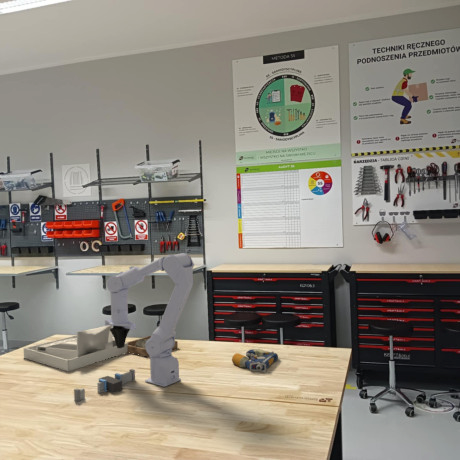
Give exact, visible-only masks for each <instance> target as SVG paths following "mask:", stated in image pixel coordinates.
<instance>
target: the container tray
mask: <svg viewBox="0 0 460 460" xmlns="http://www.w3.org/2000/svg"><path fill="white" fill-rule="evenodd" d="M71 338H77V334H76V335H71V336H67V337H64V338H59V339H56V340H51V341H46V342H43V343H40V344H34V345H31V346H26V347H23V358H24V359H26V360H30V361H33V362H36V363H40V364H43V365H45V364H46V366H49V367H53V368H56V369H58V368H59V370H62V371H66V372H71V371H74V370H77V369H80V368H81V369H82V368H84V367H86V366H90V365H93V364H96V363H95V362H97V363H100V362H103V361H106V360H109V359H112V358H111V357H113V358H115V357H114V356H116V357H118V356H117V355H119V356H121V355H120V354H122V355H124V354H123V353H125V354H128V353H127V352H128V343H127V342H125V345H124V347H123V348H117V346H114V347H111V348H108V349H104V350H101V351H97V352H94V353H90V354H87V355H83V356H80V357H76V358H73V359H69V360H67V359H63V358H59V357H56V356H52V355H49V354H45V353H42V352H38V351H36V347H37V346H40V345H44V344H49V343H53V342H57V341H62V340H66V339H71ZM108 358H109V359H108ZM105 359H106V360H105ZM102 360H103V361H102ZM99 361H100V362H99Z"/></svg>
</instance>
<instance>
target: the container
mask: <svg viewBox="0 0 460 460" xmlns="http://www.w3.org/2000/svg"><path fill="white" fill-rule="evenodd" d="M111 328H113V326H110V325H103V326H100V327H96V328H95V327H94V328H91V329H86V330H82V331H76V335H77V338H71V339H66V340H62V341H57V342H53V343H49V344H44V345H40V346H37V347H36V351H38V352H42V353H45V354H49V355H52V356H56V357H59V358H63V359H67V360H69V359H73V358H76V357H80V356H83V355H87V354H90V353H94V352H97V351H101V350H104V349H108V348H111V347H114V346H117V345H116V342H115V339H114V336H113V334H112V333H111V331H110V329H111Z"/></svg>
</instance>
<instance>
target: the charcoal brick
mask: <svg viewBox="0 0 460 460" xmlns="http://www.w3.org/2000/svg"><path fill="white" fill-rule="evenodd" d="M99 379H104V380H106V386H107V392H109V393H112V394H116V393H117V392H120V391H123V384H122V381H121V380H118V379H116V378H115V377H112V376H109V375H107V376H106V375H105V376H103V377H100V378H98V383H99V382H101V381H99Z"/></svg>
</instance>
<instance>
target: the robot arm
mask: <svg viewBox="0 0 460 460" xmlns="http://www.w3.org/2000/svg"><path fill="white" fill-rule="evenodd" d="M194 266H195V263H194V261H193V259H192V257H191V256H190V255H189V254H188V253H186V252H181V253H177V254H167V255H165V256H162V257H159V258H157V259H154V260H153V261H151V262H150V263H147V264H145V265H143V266H141V267H140V266H135V265H132V266H130V267H129V269H127V270H125V271H120V272H119V274H117V275H111V276H109V278H108V279H107V281H106V288H107V290H109V292H110V310H111V311H110V314H111V318H106V319H104V326H108V325H110V326H113V328H111V329H110V331H111V333H112V334H113V338H114V339H115V342H116V345H117V348H123V347H124V345H125V343H126V339H127V336H128V334H129V332H130V331H133V330H136V329H137V326H136V323H135V322H132V321H130V320H129V309H128V307H129V305H128V302H129V301H128V294H129V289H130V288H131V287H134V286H135V285H137V284H139V283H142V282H144V280H145V277H146V276H149V275H151V274H155V273H156V272H158V271H162V272H165V273H166V275H167V276H168V277H169V278H170V279H171V281H173V283H174V288H173V290H172V292H171V295H170V298H169V300H168V303H167V304H166V307H165V310H164V313H163V315H162V318H161V320H160V322H159V325H158V327H157V328H156V329H155V330H154V331H153V332H152V334H151V335H150V336H151V337H150V338H149V339H148V340H147V342H146V344H145V348H146V351H147V353H148V354H149V357H150V358H149V364H150V365H149V366H150V367H149V368H150V369H149V370H150V377H149V378H147V379H145V383H148V384H152V385H157V386H160V387H163V388H164V387H168V386H169V385H173V384H175V383H177V382H179V381H181V380H182V378H180V367H179V366H180V365H179V360H178V358H177V357H175V356H174V355H173V354H172V352H173V350H172V348H173V347H174V345H175V341H176V335H177V332H176V331H175V329H176V327H177V325H178V322H179V320H180V317H181V315H182V312H183V310H184V307H185V305H186V302H187V300H188V298H189V295H190V293H191V290H192V289H193V285H194V280H193V279H194V274H193V273H194V272H193V271H194V270H193V269H194Z"/></svg>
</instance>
